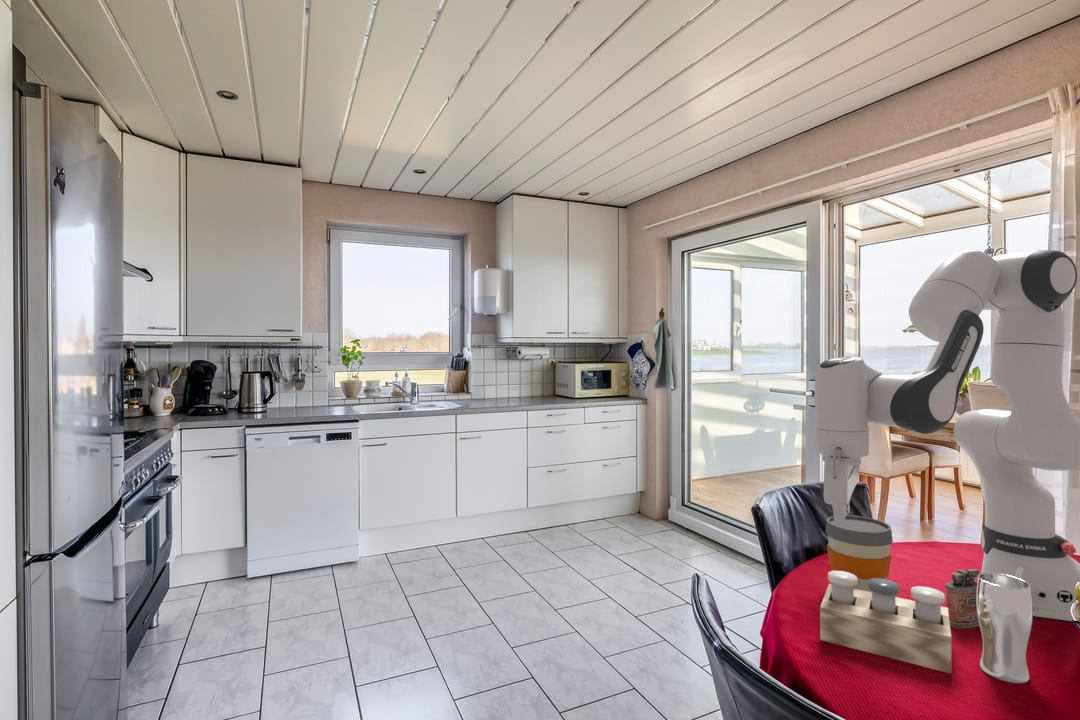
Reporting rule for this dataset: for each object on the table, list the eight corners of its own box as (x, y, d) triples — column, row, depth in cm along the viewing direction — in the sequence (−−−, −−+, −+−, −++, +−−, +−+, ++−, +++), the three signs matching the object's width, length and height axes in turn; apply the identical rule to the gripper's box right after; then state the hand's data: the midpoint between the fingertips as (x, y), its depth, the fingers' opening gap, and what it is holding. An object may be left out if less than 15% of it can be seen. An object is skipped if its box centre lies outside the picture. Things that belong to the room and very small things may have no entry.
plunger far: (858, 610, 103) (858, 574, 103) (856, 620, 99) (856, 583, 99) (830, 603, 106) (829, 568, 105) (826, 613, 102) (826, 577, 102)
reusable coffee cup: (890, 611, 109) (889, 537, 109) (821, 595, 117) (820, 525, 117) (895, 589, 119) (895, 521, 119) (831, 576, 127) (830, 511, 127)
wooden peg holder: (948, 640, 98) (947, 607, 98) (951, 673, 88) (951, 636, 88) (829, 613, 109) (829, 583, 109) (820, 640, 99) (820, 607, 99)
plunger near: (944, 629, 95) (944, 590, 95) (945, 641, 91) (945, 600, 91) (911, 621, 98) (911, 584, 98) (911, 633, 94) (910, 594, 94)
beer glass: (976, 655, 93) (976, 568, 93) (1031, 670, 89) (1031, 578, 89) (976, 674, 88) (975, 581, 88) (1034, 691, 83) (1033, 593, 83)
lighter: (958, 629, 102) (957, 576, 102) (940, 621, 105) (940, 569, 105) (990, 623, 104) (990, 571, 104) (972, 615, 107) (971, 564, 107)
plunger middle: (900, 619, 99) (899, 581, 99) (899, 630, 95) (898, 591, 95) (869, 612, 102) (868, 576, 102) (867, 623, 98) (866, 585, 98)
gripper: (855, 454, 92) (856, 536, 92) (865, 438, 108) (865, 507, 109) (813, 451, 95) (814, 530, 95) (829, 435, 112) (830, 502, 112)
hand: (841, 518), depth 102 cm, fingers open, 5 cm apart
